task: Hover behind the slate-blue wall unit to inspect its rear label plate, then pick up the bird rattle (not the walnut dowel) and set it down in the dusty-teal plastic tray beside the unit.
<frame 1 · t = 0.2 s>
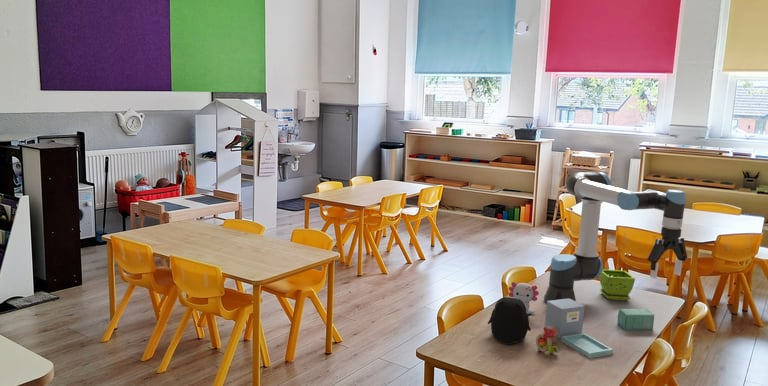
hand: (665, 276, 263), 28 cm above the table, fingers open, 13 cm apart
tray: (586, 347, 255), on the table
penguin: (507, 338, 261), on the table
walnut dowel: (550, 342, 259), on the table
toy: (521, 314, 288), on the table
box: (634, 327, 279), on the table
unit: (562, 332, 270), on the table
bird rattle: (544, 353, 248), on the table
flower pot: (614, 297, 318), on the table
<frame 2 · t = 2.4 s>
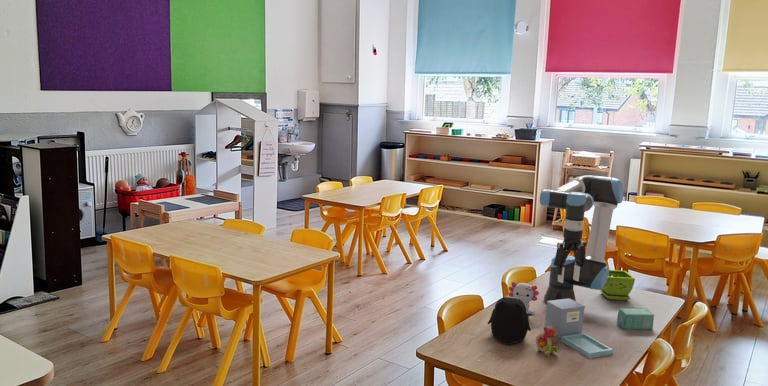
hand: (568, 281, 265), 23 cm above the table, fingers open, 8 cm apart
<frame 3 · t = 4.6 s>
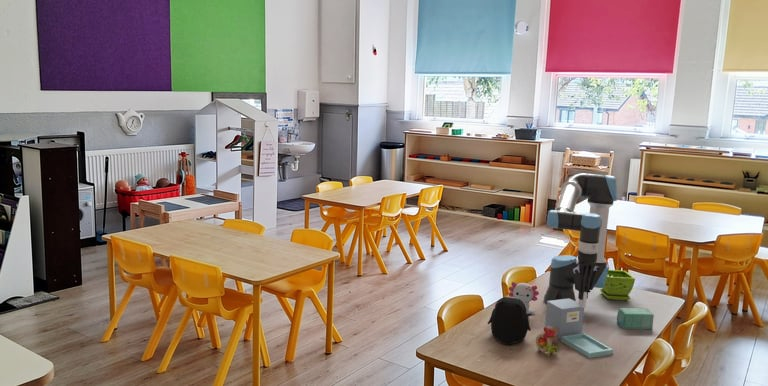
hand: (582, 306, 258), 15 cm above the table, fingers closed
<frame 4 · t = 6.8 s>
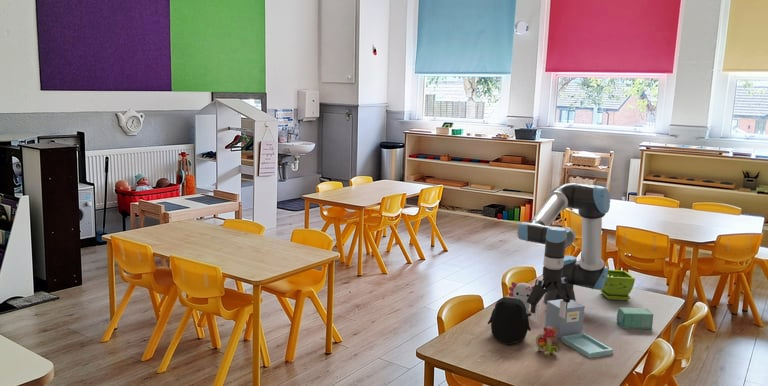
hand: (548, 318, 245), 14 cm above the table, fingers open, 13 cm apart
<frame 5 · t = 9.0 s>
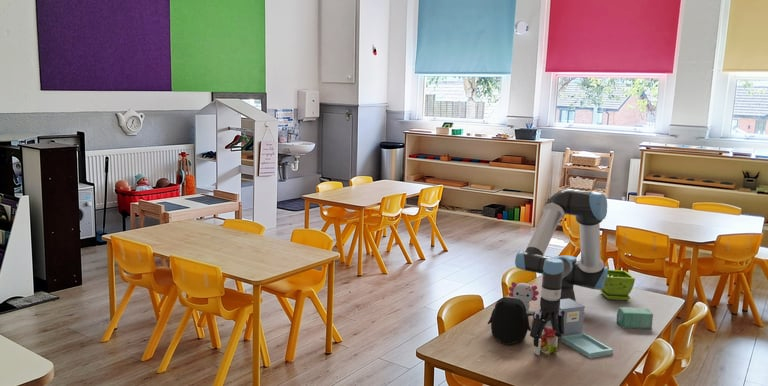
hand: (545, 352, 248), 0 cm above the table, fingers open, 7 cm apart
bird rattle: (544, 353, 248), on the table, touching gripper
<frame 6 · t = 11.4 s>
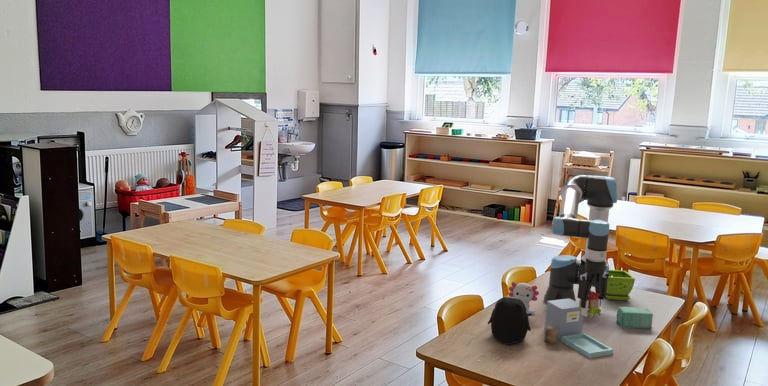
hand: (589, 314, 252), 14 cm above the table, fingers closed on bird rattle, 5 cm apart
bird rattle: (587, 315, 252), point 14 cm above the table, touching gripper
when the fingers open (2 cm above the table, at t = 13.8 s): bird rattle drops 1 cm, resting on tray.
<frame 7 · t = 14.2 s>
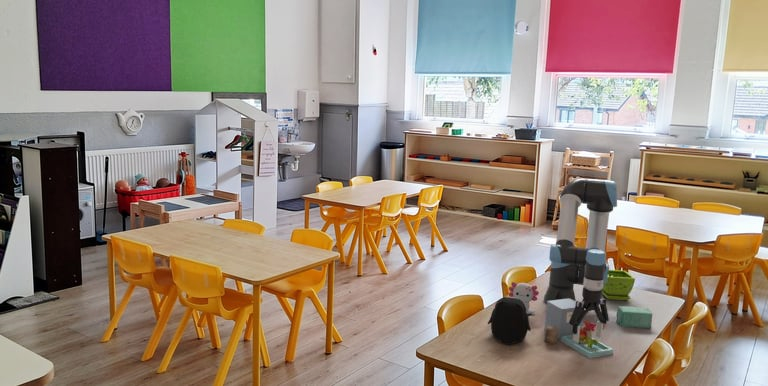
hand: (587, 339, 254), 4 cm above the table, fingers open, 11 cm apart
bird rattle: (584, 346, 254), point 1 cm above the table, touching tray
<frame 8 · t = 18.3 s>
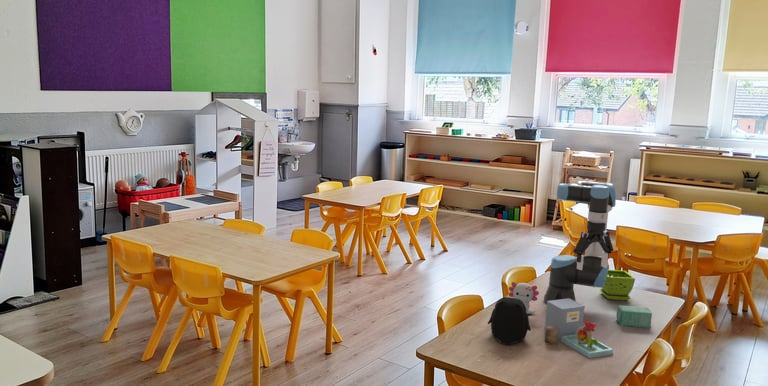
hand: (591, 268, 273), 27 cm above the table, fingers open, 13 cm apart
at the end: bird rattle inside the target area on the tray (0.9 cm from its centre), point 0.6 cm above the tray's base; the gripper is holding nothing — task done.
